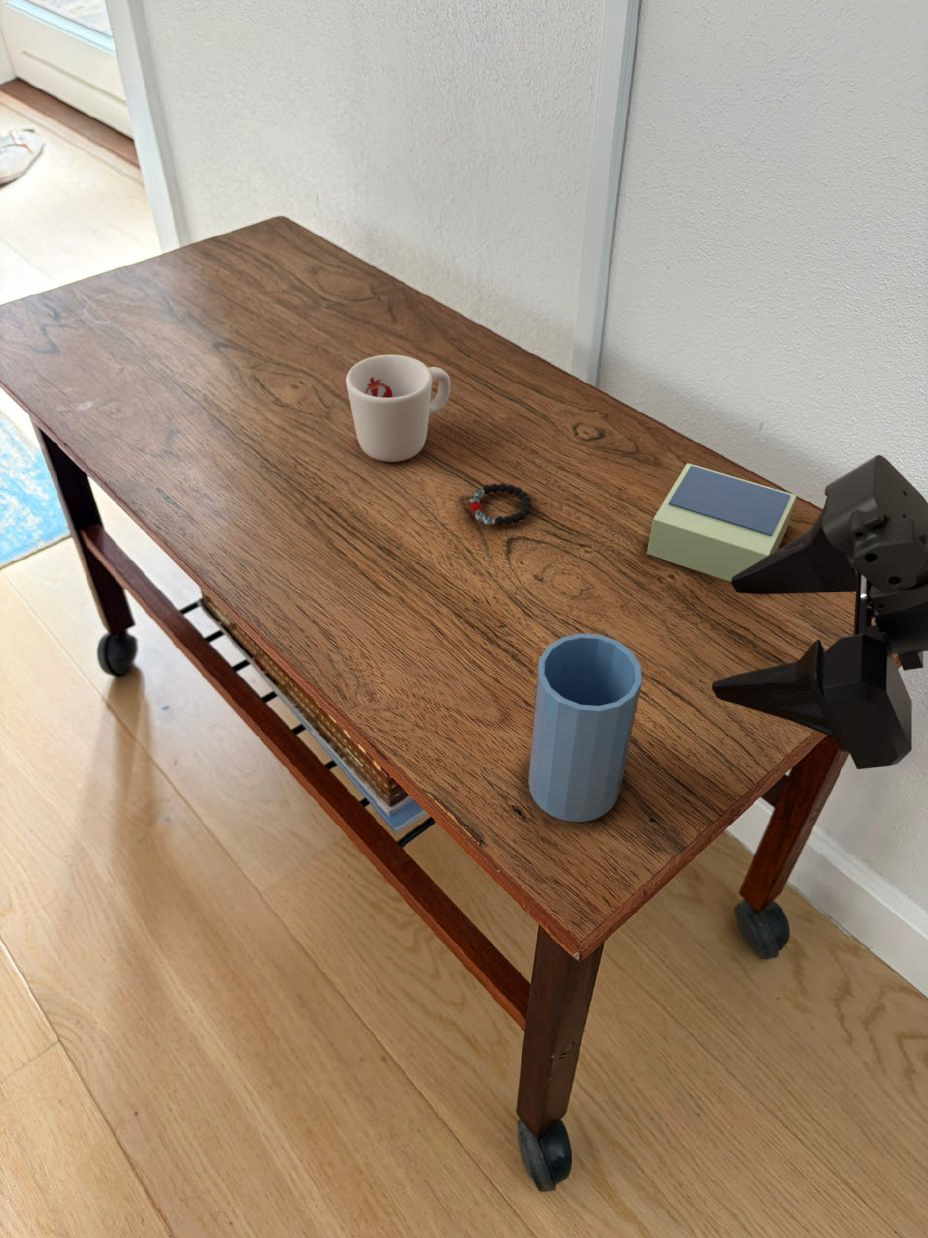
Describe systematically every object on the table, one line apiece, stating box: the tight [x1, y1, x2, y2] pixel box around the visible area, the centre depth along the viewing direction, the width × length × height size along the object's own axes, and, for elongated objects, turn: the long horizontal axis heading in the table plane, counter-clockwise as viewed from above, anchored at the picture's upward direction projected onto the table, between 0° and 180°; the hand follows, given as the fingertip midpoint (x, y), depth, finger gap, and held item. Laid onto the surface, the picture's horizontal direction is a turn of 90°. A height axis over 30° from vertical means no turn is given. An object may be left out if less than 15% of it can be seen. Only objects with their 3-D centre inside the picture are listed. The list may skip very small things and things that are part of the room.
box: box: [646, 462, 798, 583], centre depth 89 cm, size 10×9×4 cm
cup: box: [345, 354, 451, 463], centre depth 98 cm, size 11×8×8 cm
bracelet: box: [469, 482, 533, 527], centre depth 93 cm, size 6×6×1 cm
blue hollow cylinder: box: [527, 633, 643, 823], centre depth 68 cm, size 6×6×12 cm
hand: (724, 635), depth 61 cm, fingers open, 9 cm apart
